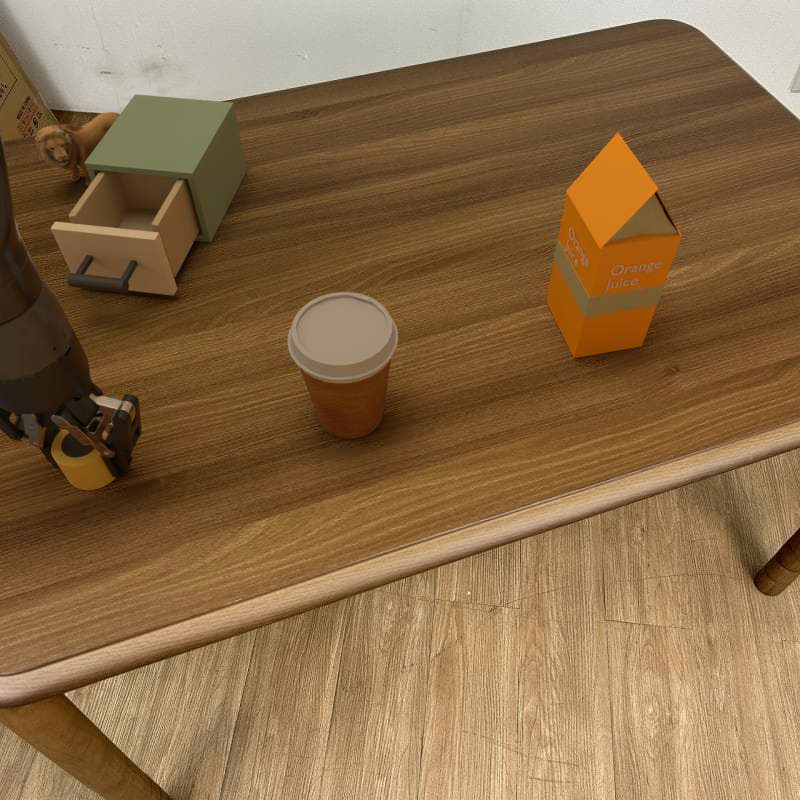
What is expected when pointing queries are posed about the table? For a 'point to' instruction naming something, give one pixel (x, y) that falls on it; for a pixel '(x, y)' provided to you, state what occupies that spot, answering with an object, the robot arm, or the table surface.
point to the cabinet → (178, 150)
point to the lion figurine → (73, 143)
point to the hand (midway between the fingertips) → (93, 464)
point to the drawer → (129, 233)
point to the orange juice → (610, 255)
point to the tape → (80, 462)
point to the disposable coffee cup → (345, 360)
